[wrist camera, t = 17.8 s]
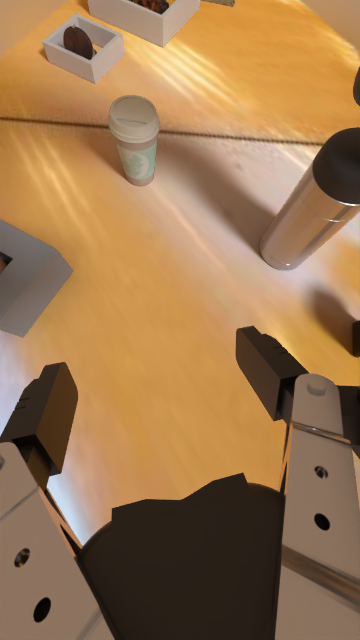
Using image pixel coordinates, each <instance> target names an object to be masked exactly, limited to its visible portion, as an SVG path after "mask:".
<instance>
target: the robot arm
mask: <svg viewBox="0 0 360 640" xmlns="http://www.w3.org/2000/svg"><path fill="white" fill-rule="evenodd" d="M353 96H354V100H355V101H356V103H357V104H358V105H359V106H360V67H359V70H358V72H357V75H356V77H355V82H354V86H353ZM359 212H360V128H349V129H345V130H342V131H339V132H337V133H336V134H334V135H333V136H331V137H330V138H329V139H328V140H327V141H326V143H325V144H324V145H323V146H322V148H321V149H320V151H319V152H318V154H317V155H316V157H315V159H314V160H313V162H312V163H311V165H310V166H309V168H308V169H307V171H306V172H305V174H304V175H303V177H302V178H301V180H300V181H299V183H298V184H297V186H296V187H295V189H294V190H293V192H292V193H291V195H290V196H289V198H288V199H287V201H286V202H285V204H284V205H283V207H282V208H281V210H280V211H279V213H278V214H277V216H276V217H275V219H274V220H273V222H272V223H271V224H270V226H269V227H268V229H267V230H266V232H265V233H264V235H263V236H262V238H261V240H260V244H259V249H260V253H261V255H262V257H263V259H264V260H265V261H266V262H267V263H268V264H269V265H271V266H272V267H274V268H276V269H280V270H291V269H294V268H296V267H298V266H299V265H300V264H301V263H302V262H304V261H305V260H306V259H307V258H308V257H309V256H311V255H312V254H313V253H314V252H315V251H316V250H317V249H318V248H320V247H321V246H322V245H323V244H324V243H325V242H326V241H327V240H329V239H330V238H331V237H332V236H333V235H334V234H335V233H337V232H338V231H339V230H340V229H341V228H342V227H343V226H344V225H346V224H347V223H348V222H349V221H350V220H351V219H352V218H354V217H355V216H356V215H357V214H358V213H359ZM236 360H237V363H238V365H239V367H240V369H241V370H242V372H243V374H244V375H245V377H246V378H247V380H248V381H249V383H250V385H251V386H252V388H253V389H254V391H255V393H256V394H257V396H258V397H259V399H260V400H261V402H262V404H263V405H264V407H265V408H266V410H267V412H268V413H269V415H270V416H271V418H272V419H273V421H277V420H281V419H283V420H284V421H285V423H286V424H287V425H286V431H285V439H284V448H283V456H282V465H281V473H280V479H279V485H278V491H277V490H274V489H272V488H270V487H267V486H264V485H261V484H256V483H247V481H246V478H245V476H244V473H240V474H236V475H232V476H229V477H225V478H222V479H218V480H214V481H212V482H210V483H209V484H207V485H205V486H204V487H202V488H201V489H199V490H197V491H196V492H194V493H193V494H191V495H189V496H188V497H186V498H184V499H182V500H157V499H145V500H141V501H137V502H134V503H130V504H127V505H123V506H119V507H116V508H112V521H110V522H109V523H107V524H106V525H104V526H103V527H102V528H101V529H99V530H98V531H97V532H96V533H95V534H94V535H93V536H92V537H91V538H90V539H89V540H88V541H87V542H86V544H85V545H84V546H82V545H81V543H80V541H79V540H78V538H77V537H76V535H75V534H74V532H73V531H72V529H71V528H70V526H69V524H68V522H67V521H66V519H65V517H64V515H63V514H62V512H61V510H60V509H59V507H58V505H57V503H56V502H55V500H54V498H53V496H52V495H51V493H50V491H49V489H48V488H47V483H48V479H49V476H53V475H57V474H61V472H62V467H63V463H64V458H65V454H66V450H67V445H68V441H69V436H70V432H71V428H72V423H73V419H74V414H75V410H76V406H77V401H78V391H77V387H76V385H75V382H74V380H73V378H72V375H71V373H70V371H69V369H68V366H67V364H66V363H65V362H61V363H56V364H51V365H46V366H45V367H44V368H43V370H42V373H41V375H40V377H39V379H34V380H33V381H32V382H31V383H30V384H29V385H28V386H27V387H26V388H25V389H24V391H23V393H22V395H21V397H20V399H19V402H18V403H17V405H16V407H15V411H13V413H12V415H11V417H10V419H9V421H8V423H7V425H6V427H5V429H4V431H3V432H2V434H1V436H0V640H360V509H359V501H358V493H357V485H356V478H355V470H354V462H353V454H352V450H353V451H354V452H355V454H356V455H357V456H358V457H359V459H360V386H337V385H335V384H334V383H333V382H332V381H331V380H329V379H327V378H325V377H323V376H321V375H317V374H310V373H309V372H308V371H307V370H306V369H305V368H304V367H303V366H302V365H301V364H300V363H299V362H298V361H297V360H296V359H295V358H294V357H293V356H292V355H291V354H290V353H288V351H287V350H286V349H285V348H284V347H282V345H281V344H280V343H279V342H278V341H277V340H276V339H275V338H273V337H271V336H269V335H267V334H261V333H260V332H259V331H258V330H257V329H256V328H255V327H254V326H249V327H244V328H239V329H237V331H236Z"/></svg>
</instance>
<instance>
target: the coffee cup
mask: <svg viewBox="0 0 360 640" xmlns="http://www.w3.org/2000/svg"><path fill="white" fill-rule="evenodd" d="M109 128H110V131H111V132H112V134H113V136H114V139H115V143H116V146H117V149H118V152H119V155H120V159H121V162H122V165H123V168H124V172H125V175H126V178H127V180H128V181H129V182H130V183H131V184H133V185H136V186H145V185H147V184H149V183H150V182H151V181H152V180H153V178H154V169H155V158H156V146H157V135H158V132H159V129H160V122H159V117H158V114H157V112H156V108H155V106H154V105H153V104H152V103H151V102H150V101H149V100H148V99H146V98H144V97H141V96H136V95H127V96H123V97H120V98H118V99H117V100H115V101H114V102H113V103H112V105H111V107H110V114H109Z"/></svg>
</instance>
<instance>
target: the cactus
mask: <svg viewBox="0 0 360 640" xmlns="http://www.w3.org/2000/svg"><path fill="white" fill-rule="evenodd" d="M128 1H131V2H133V3H135V4H138V5H140V6H142V7H144V8H147V9H149V10H151V11H153V12H156V13H158V14H160V15H162V14H163V13H164V12H165V11H166V10H167V9H168V8H169V4H168V3H167V1H166V0H128Z"/></svg>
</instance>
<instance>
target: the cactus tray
mask: <svg viewBox="0 0 360 640" xmlns="http://www.w3.org/2000/svg"><path fill="white" fill-rule="evenodd" d="M87 1H88V6H89V11H90V15H92V16H94V17H96V18H98V19H100V20H103V21H105V22H107V23H109V24H112V25H114V26H116V27H118V28H120V29H123V30H125V31H127V32H129V33H132V34H134V35H136V36H138V37H140V38H143V39H145V40H147V41H149V42H152V43H154V44H156V45H158V46H161V47H164V46H165V45H166V44H167V43H168V42H169V41H170V40H171V39H172V38H173V36H174V35H175V34H176V33H177V32H178V31H179V30H180V29H181V28H182V27H183V26H184V25H185V24H186V22H187V21H188V20H189V19H190V18H191V17H192V16H193V15H194V14H195V13H196V12H197V11H198V9H199V8H200V0H176V1H175V2H174V3H173V4H172V5H171V6H170V7H169V8H168V9H167V10H166V11H165V12H164V13H163V14H162V15H160V14H158V13H156V12H153V11H151V10H149V9H147V8H144V7H142V6H140V5H138V4H135V3H133V2H131V1H128V0H87Z"/></svg>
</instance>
